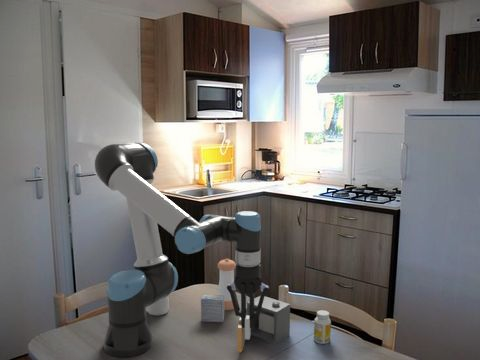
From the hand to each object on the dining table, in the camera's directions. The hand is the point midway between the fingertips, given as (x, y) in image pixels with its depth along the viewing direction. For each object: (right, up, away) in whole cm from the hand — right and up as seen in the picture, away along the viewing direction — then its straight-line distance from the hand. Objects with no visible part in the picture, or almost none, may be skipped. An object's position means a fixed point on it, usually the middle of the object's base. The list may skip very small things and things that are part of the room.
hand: (247, 337), depth 145 cm
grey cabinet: (+7, -4, +15) cm, 17 cm away
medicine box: (-12, -2, +26) cm, 29 cm away
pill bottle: (-33, -1, +32) cm, 46 cm away
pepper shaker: (-7, -1, +37) cm, 38 cm away
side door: (-2, -4, +7) cm, 9 cm away
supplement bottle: (+25, -5, +11) cm, 27 cm away
